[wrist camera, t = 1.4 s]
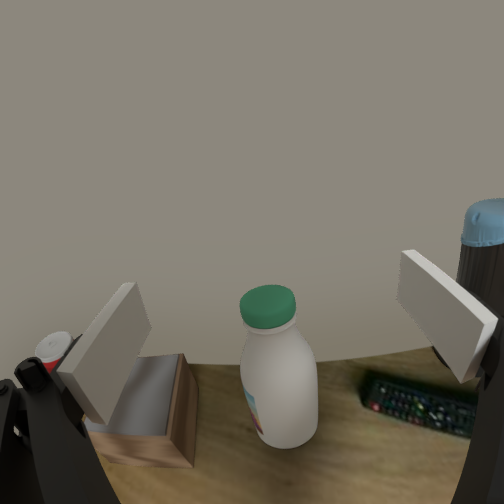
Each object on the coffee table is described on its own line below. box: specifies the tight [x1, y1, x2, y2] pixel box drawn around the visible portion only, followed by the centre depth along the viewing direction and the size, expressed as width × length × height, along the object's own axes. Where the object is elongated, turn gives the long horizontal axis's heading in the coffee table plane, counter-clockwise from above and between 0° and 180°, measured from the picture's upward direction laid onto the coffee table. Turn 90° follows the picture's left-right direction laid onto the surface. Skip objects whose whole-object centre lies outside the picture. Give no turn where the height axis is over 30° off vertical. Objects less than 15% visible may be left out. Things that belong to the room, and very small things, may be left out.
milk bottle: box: [240, 285, 318, 449], centre depth 27 cm, size 8×8×20 cm
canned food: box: [35, 331, 74, 374], centre depth 37 cm, size 8×8×11 cm
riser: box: [84, 354, 199, 468], centre depth 31 cm, size 12×14×8 cm
